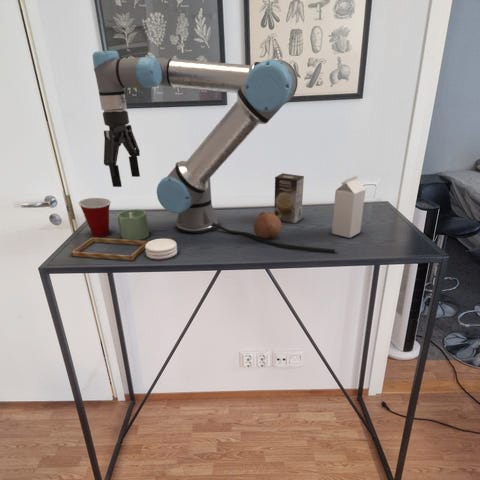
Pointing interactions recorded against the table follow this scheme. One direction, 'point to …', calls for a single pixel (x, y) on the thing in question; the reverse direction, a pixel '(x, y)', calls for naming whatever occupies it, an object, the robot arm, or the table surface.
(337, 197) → the milk carton
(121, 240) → the frame
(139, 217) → the cup
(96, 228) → the plastic cup
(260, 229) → the onion
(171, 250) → the coaster
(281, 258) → the table surface
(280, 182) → the coffee box
